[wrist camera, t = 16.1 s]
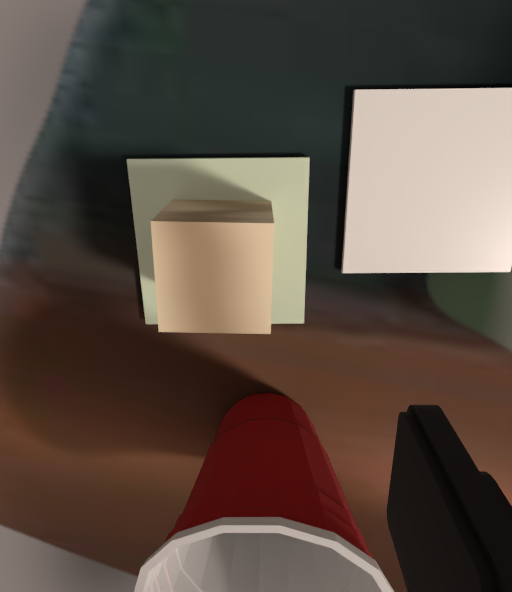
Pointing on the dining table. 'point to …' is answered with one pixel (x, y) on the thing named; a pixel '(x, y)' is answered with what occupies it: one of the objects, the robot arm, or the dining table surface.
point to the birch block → (214, 266)
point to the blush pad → (429, 181)
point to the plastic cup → (264, 514)
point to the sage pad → (237, 187)
